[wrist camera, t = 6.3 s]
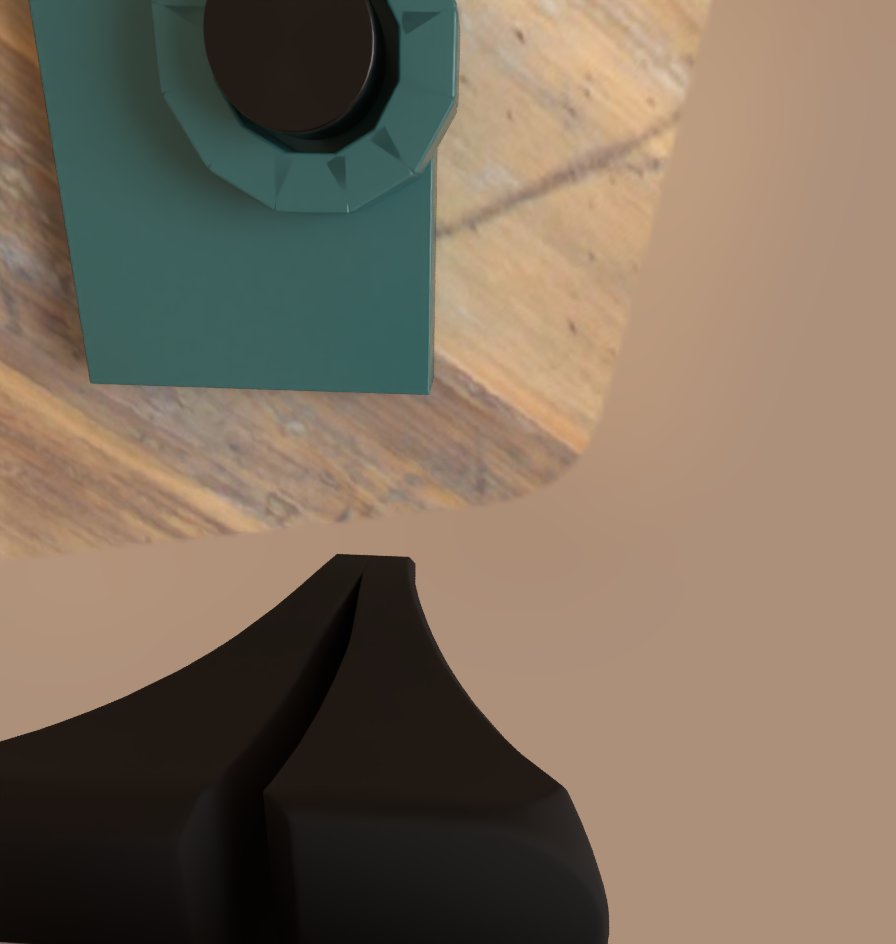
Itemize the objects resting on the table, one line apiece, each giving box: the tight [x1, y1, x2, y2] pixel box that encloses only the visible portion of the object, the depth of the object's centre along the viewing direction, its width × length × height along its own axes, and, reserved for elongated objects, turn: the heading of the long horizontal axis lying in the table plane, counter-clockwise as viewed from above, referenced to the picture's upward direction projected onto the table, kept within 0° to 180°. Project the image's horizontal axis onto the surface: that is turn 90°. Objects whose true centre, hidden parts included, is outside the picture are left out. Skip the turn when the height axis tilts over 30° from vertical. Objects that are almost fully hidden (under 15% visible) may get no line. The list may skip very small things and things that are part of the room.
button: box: [203, 0, 387, 140], centre depth 14 cm, size 3×3×2 cm
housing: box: [29, 0, 460, 395], centre depth 17 cm, size 12×10×4 cm
